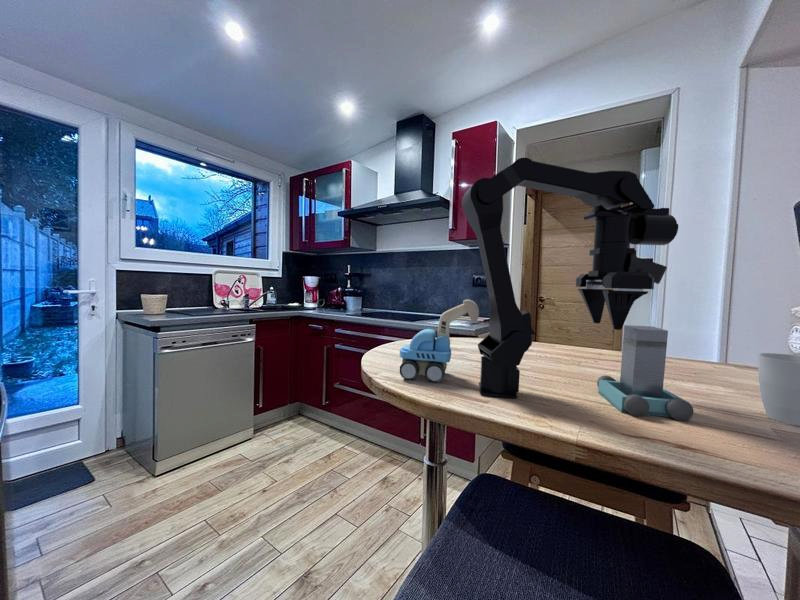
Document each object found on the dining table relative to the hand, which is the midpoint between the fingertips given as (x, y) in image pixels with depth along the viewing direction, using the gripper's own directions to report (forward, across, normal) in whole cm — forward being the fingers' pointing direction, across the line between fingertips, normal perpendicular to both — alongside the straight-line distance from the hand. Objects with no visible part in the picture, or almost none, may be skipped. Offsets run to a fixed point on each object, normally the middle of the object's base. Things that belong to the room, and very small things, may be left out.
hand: (606, 326), depth 61 cm
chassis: (+13, -5, -4) cm, 14 cm away
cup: (+13, -6, -25) cm, 29 cm away
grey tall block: (+12, -5, -4) cm, 14 cm away
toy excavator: (+13, +1, +32) cm, 35 cm away
